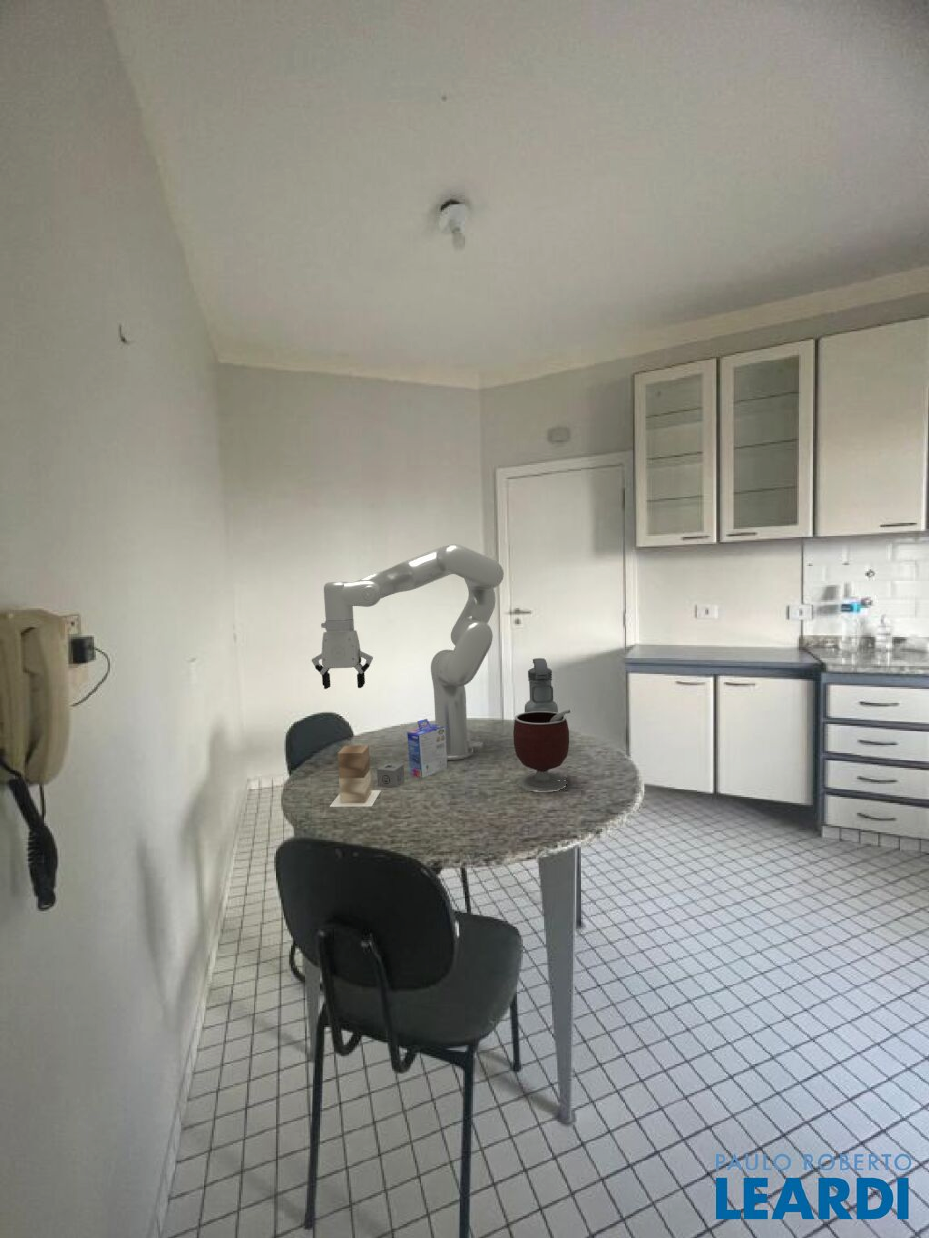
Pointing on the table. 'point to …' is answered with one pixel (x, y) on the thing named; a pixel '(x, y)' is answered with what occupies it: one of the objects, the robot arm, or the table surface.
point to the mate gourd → (541, 747)
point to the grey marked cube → (390, 775)
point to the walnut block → (353, 761)
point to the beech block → (355, 789)
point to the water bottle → (540, 688)
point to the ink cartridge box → (427, 749)
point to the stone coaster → (368, 803)
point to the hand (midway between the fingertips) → (344, 687)
